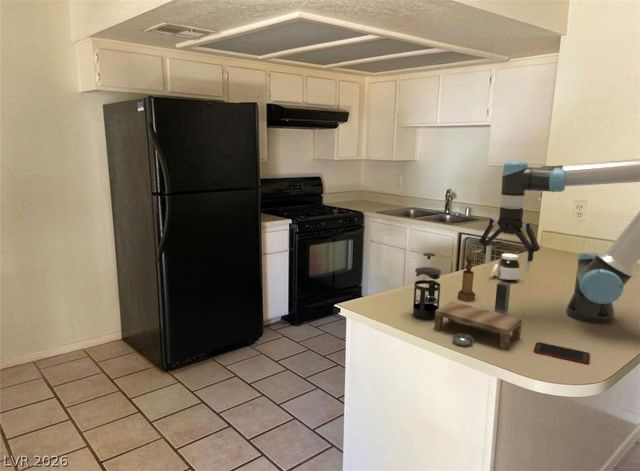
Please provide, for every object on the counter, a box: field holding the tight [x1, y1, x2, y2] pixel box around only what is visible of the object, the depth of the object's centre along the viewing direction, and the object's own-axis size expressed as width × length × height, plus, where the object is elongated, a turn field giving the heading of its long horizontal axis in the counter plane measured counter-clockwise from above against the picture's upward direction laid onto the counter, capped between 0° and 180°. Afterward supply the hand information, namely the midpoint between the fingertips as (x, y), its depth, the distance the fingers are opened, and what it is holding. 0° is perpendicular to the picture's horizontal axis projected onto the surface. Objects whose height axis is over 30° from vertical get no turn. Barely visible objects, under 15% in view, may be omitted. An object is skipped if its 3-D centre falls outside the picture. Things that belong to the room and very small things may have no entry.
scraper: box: [469, 281, 512, 334], centre depth 163 cm, size 8×19×12 cm, turn 139°
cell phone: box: [533, 341, 591, 366], centre depth 140 cm, size 8×15×1 cm, turn 59°
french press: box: [411, 252, 442, 322], centre depth 167 cm, size 12×9×23 cm
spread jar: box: [489, 253, 521, 284], centre depth 212 cm, size 12×11×12 cm
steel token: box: [452, 333, 474, 348], centre depth 147 cm, size 6×6×2 cm
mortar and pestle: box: [457, 254, 476, 302], centre depth 185 cm, size 7×6×18 cm
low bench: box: [433, 300, 523, 351], centre depth 153 cm, size 24×12×6 cm, turn 49°
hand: (506, 266), depth 166 cm, fingers open, 13 cm apart
